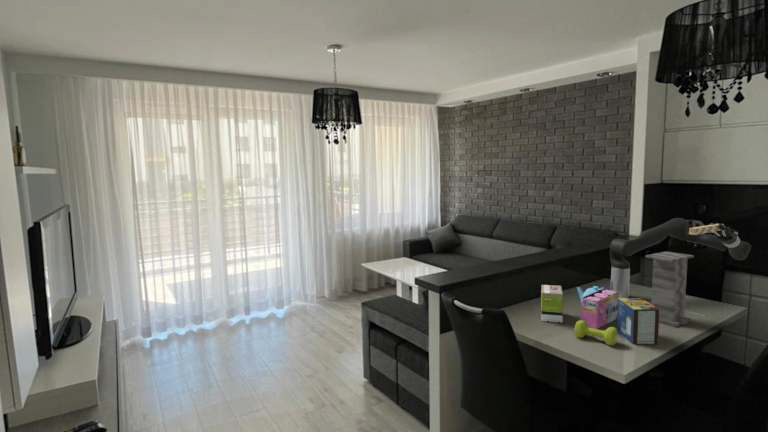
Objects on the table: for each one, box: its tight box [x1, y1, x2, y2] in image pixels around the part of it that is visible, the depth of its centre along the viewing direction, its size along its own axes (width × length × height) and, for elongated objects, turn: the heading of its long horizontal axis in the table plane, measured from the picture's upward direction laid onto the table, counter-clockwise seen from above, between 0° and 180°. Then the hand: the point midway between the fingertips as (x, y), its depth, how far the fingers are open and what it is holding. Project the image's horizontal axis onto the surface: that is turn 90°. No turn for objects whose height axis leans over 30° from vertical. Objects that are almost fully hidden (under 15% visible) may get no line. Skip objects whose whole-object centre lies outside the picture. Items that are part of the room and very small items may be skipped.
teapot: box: [576, 285, 605, 304], centre depth 228 cm, size 15×15×11 cm
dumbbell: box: [574, 319, 619, 347], centre depth 184 cm, size 16×8×7 cm, turn 45°
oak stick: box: [688, 223, 725, 235], centre depth 216 cm, size 27×3×3 cm, turn 118°
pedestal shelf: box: [644, 250, 695, 328], centre depth 204 cm, size 18×14×32 cm
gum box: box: [580, 288, 619, 330], centre depth 206 cm, size 24×8×14 cm, turn 128°
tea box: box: [540, 284, 564, 323], centre depth 213 cm, size 15×10×15 cm
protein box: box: [616, 297, 660, 345], centre depth 185 cm, size 10×15×16 cm
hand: (715, 224), depth 219 cm, fingers closed on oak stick, 3 cm apart
